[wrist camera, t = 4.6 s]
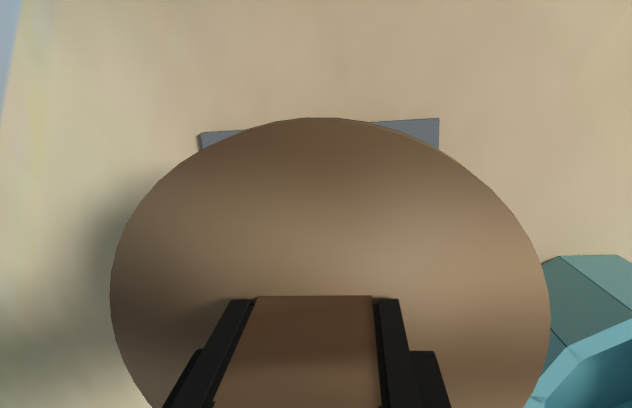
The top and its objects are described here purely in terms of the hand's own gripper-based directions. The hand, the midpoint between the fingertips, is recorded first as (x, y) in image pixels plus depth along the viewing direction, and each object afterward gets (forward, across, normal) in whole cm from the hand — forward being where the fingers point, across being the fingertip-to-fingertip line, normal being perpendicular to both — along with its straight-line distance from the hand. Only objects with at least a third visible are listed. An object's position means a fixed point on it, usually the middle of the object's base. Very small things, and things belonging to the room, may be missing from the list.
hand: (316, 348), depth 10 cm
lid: (+1, 0, 0) cm, 1 cm away
